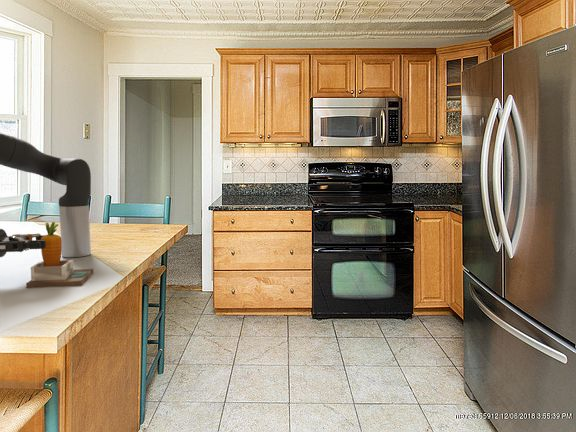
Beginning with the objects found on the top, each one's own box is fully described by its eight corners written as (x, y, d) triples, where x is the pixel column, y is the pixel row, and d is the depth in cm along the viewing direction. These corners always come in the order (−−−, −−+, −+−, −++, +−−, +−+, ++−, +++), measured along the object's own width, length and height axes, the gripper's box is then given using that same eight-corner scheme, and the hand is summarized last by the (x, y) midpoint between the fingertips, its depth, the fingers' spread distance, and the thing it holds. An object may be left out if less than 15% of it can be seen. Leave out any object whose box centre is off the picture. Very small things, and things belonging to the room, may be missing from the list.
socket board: (44, 274, 129) (43, 258, 128) (93, 272, 131) (92, 256, 131) (26, 287, 115) (25, 269, 114) (81, 285, 117) (80, 267, 117)
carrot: (42, 275, 123) (39, 220, 121) (62, 273, 125) (60, 219, 124) (42, 279, 118) (39, 222, 117) (63, 277, 121) (61, 221, 119)
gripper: (-32, 233, 110) (40, 231, 114) (-7, 225, 124) (57, 224, 127) (-30, 263, 111) (42, 260, 114) (-5, 252, 125) (59, 250, 128)
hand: (50, 241), depth 121 cm, fingers open, 8 cm apart
